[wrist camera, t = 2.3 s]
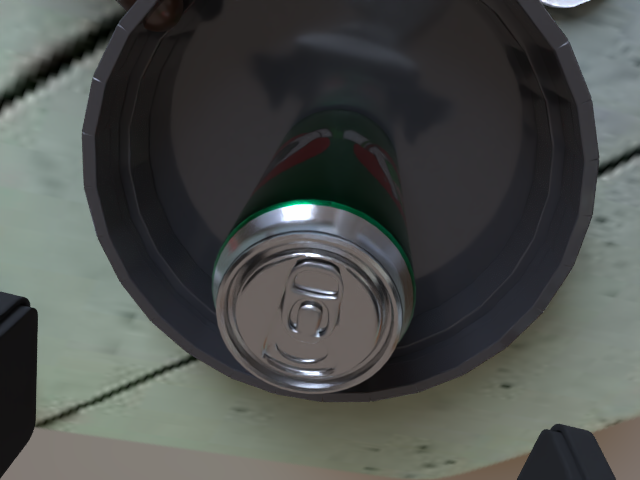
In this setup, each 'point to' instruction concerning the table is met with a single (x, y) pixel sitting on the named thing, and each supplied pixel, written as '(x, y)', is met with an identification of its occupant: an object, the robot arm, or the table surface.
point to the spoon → (562, 3)
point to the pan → (385, 110)
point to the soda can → (319, 260)
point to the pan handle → (160, 14)
